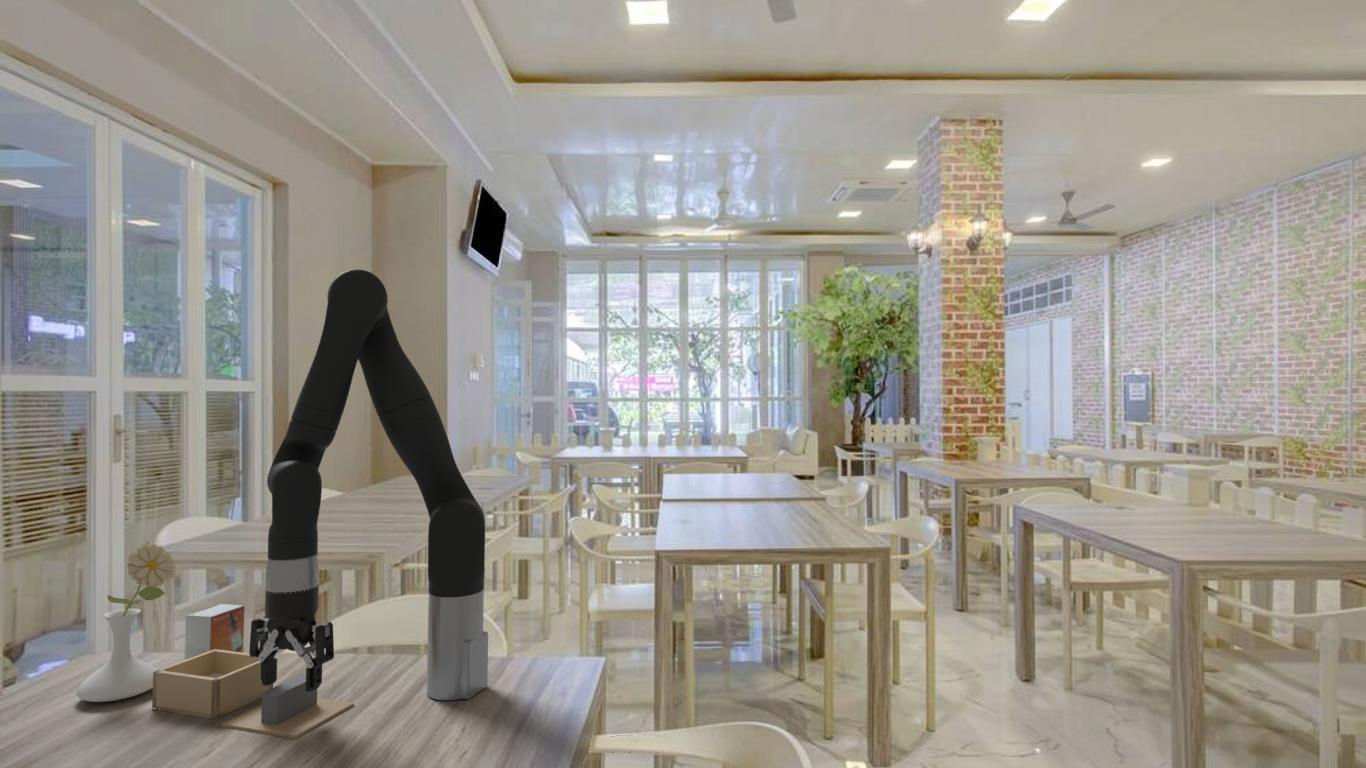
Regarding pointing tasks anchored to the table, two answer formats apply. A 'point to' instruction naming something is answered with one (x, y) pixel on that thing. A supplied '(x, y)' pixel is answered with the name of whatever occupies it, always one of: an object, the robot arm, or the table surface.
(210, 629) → the small box
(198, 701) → the box
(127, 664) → the flower in vase
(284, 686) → the mailer lid
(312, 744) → the table surface
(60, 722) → the table surface
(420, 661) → the table surface
